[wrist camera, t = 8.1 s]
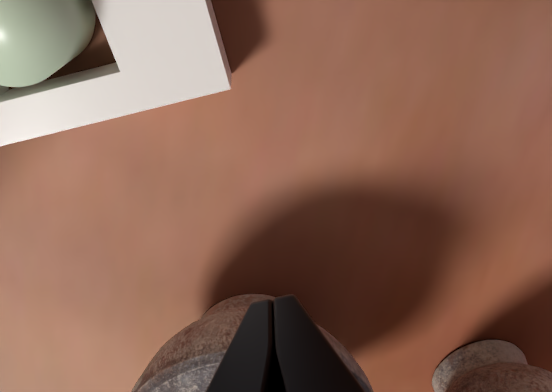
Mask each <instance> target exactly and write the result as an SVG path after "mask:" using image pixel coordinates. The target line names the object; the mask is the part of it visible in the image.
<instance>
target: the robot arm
mask: <svg viewBox="0 0 552 392" xmlns="http://www.w3.org/2000/svg"><path fill="white" fill-rule="evenodd" d="M205 392H365V390H364V389H363V388H362V386H361V385H360V384H359V382H358V381H357V379H356V378H355V377H354V375H353V374H352V373H351V371H350V370H349V368H348V367H347V366H346V364H345V363H344V362H343V360H342V359H341V357H340V356H339V355H338V353H337V352H336V351H335V349H334V348H333V346H332V345H331V344H330V342H329V341H328V340H327V338H326V337H325V335H324V334H323V333H322V331H321V330H320V329H319V327H318V326H317V325H316V323H315V322H314V320H313V319H312V318H311V316H310V315H309V314H308V312H307V311H306V309H305V308H304V307H303V305H302V304H301V303H300V301H299V300H298V298H297V297H296V296H295V295H293V294H289V295H284V296H279V297H275V298H274V300H273V301H272V300H271V299H265V300H260V301H255V302H252V303H251V304H250V305H249V307H248V309H247V311H246V313H245V315H244V317H243V319H242V321H241V323H240V325H239V327H238V329H237V331H236V333H235V335H234V337H233V339H232V340H231V342H230V344H229V346H228V348H227V350H226V352H225V354H224V356H223V358H222V360H221V362H220V364H219V366H218V368H217V370H216V372H215V374H214V376H213V378H212V380H211V382H210V384H209V386H208V387H207V389H206V391H205Z"/></svg>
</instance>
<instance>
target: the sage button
mask: <svg viewBox="0 0 552 392" xmlns="http://www.w3.org/2000/svg"><path fill="white" fill-rule="evenodd" d="M95 19H96V15H95V8H94V5H93V3H92V0H0V85H1V86H6V87H25V86H30V85H34V84H37V83H39V82H41V81H43V80H45V79H47V78H48V77H49V76H51V75H52V74H53V73H55V72H56V71H57V70H59V69H60V68H61V67H63V66H64V65H65V64H67V63H68V62H69V61H71V60H72V59H74V58H75V57H76V56H78V55H79V54H80V53H81V52H82V51H83V50H84V49H85V48H86V47H87V45H88V44H89V42H90V40H91V38H92V35H93V32H94V28H95Z"/></svg>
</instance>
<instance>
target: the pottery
mask: <svg viewBox="0 0 552 392" xmlns="http://www.w3.org/2000/svg"><path fill="white" fill-rule="evenodd" d="M274 298H275V297H273V296H269V295H264V294H245V295H238V296H234V297H231V298H228V299H225V300H223V301H221V302H219V303H218V304H216V305H214V306H213V307H212V308H210V309H209V310H208V311H207V312H206V313H205V314H204V315H203V316H202V318H201V319H199V320H197V321H195V322H193V323H191V324H190V325H189V326H187V327H185V328H184V329H182V330H181V331H180V332H178V333H177V334H176V335H175V336H174V337H172V338H171V339H170V340H168V341H167V342H166V343H165V344H164V345H163V346H162V347H161V348H160V350H159V351H158V352H157V353H156V355H155V356H154V357H153V359H152V360H151V361H150V363H149V364H148V366H147V367H146V369H145V370H144V372H143V374H142V375H141V376H140V378H139V379H138V381H137V382H136V384H135V386H134V388H133V389H132V392H205V391H206V389H207V387H208V386H209V384H210V382H211V380H212V378H213V376H214V374H215V372H216V370H217V368H218V366H219V364H220V362H221V360H222V358H223V356H224V354H225V352H226V350H227V348H228V346H229V344H230V342H231V340H232V339H233V337H234V335H235V333H236V331H237V329H238V327H239V325H240V323H241V321H242V319H243V317H244V315H245V313H246V311H247V309H248V307H249V305H250V304H251V303H252V302H255V301H260V300H265V299H271V300H272V301H273V300H274ZM316 325H317V324H316ZM317 326H318V327H319V329H320V330H321V331H322V333H323V334H324V335H325V337H326V338H327V340H328V341H329V342H330V344H331V345H332V346H333V348H334V349H335V351H336V352H337V353H338V355H339V356H340V357H341V359H342V360H343V362H344V363H345V364H346V366H347V367H348V368H349V370H350V371H351V373H352V374H353V375H354V377H355V378H356V379H357V381H358V382H359V384H360V385H361V386H362V388H363V389H364V390H365V392H373V390H372V387H371V385H370V383H369V381H368V378H367V377H366V375H365V373H364V372H363V370H362V369H361V367H360V366H359V365H358V363H357V362H356V360H355V359H354V358H353V357H352V355H351V354H350V353H349V352H348V350H347V349H346V348H345V347H344V346H343V345H342V344H341V343H340V342H339V341H338V340H337V339H336V338H334V337H333V336H332V335H331V334H330V333H328V332H327V331H326V330H325V329H324V328H322V327H321V326H319V325H317ZM432 386H433V389H434V391H435V392H552V372H550V371H548V370H545V369H542V368H540V367H536V366H531V365H528V363H527V361H526V357H525V355H524V354H523V352H522V351H521V350H520V349H519V348H518V347H517V346H516V345H514V344H512V343H510V342H506V341H501V340H483V341H479V342H475V343H473V344H469V345H467V346H465V347H462V348H460V349H458V350H456V351H454V352H453V353H451V354H450V355H449V356H448V357H447V358H446V359H444V360H443V362H442V363H440V364H439V366H438V367H437V368H436V370H435V372H434V375H433V378H432Z"/></svg>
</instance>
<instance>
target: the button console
mask: <svg viewBox="0 0 552 392" xmlns="http://www.w3.org/2000/svg"><path fill="white" fill-rule="evenodd" d="M92 3H93V5H94V8H95V10H96V13H97V15H98V18H99V20H100V23H101V25H102V28H103V30H104V33H105V35H106V38H107V40H108V43H109V45H110V48H111V50H112V53H113V55H114V58H115V60H116V63H112V64H108V65H104V66H100V67H96V68H92V69H88V70H84V71H80V72H76V73H73V74H69V75H65V76H61V77H57V78H53V79H49V80H45V81H41V82H39V83H37V84H34V85H30V86H25V87H18V88H14V89H10V90H9V89H8V87H6V86H1V85H0V146H3V145H7V144H11V143H16V142H20V141H24V140H28V139H32V138H36V137H40V136H44V135H48V134H52V133H56V132H60V131H64V130H68V129H72V128H76V127H80V126H84V125H88V124H92V123H96V122H100V121H104V120H108V119H112V118H116V117H120V116H124V115H128V114H132V113H136V112H140V111H144V110H148V109H152V108H157V107H161V106H165V105H169V104H173V103H177V102H181V101H185V100H189V99H193V98H197V97H201V96H205V95H209V94H213V93H217V92H221V91H225V90H229V89H231V76H232V74H231V70H230V67H229V63H228V60H227V56H226V52H225V49H224V45H223V42H222V38H221V35H220V31H219V27H218V24H217V20H216V17H215V13H214V10H213V6H212V3H211V0H92Z"/></svg>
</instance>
